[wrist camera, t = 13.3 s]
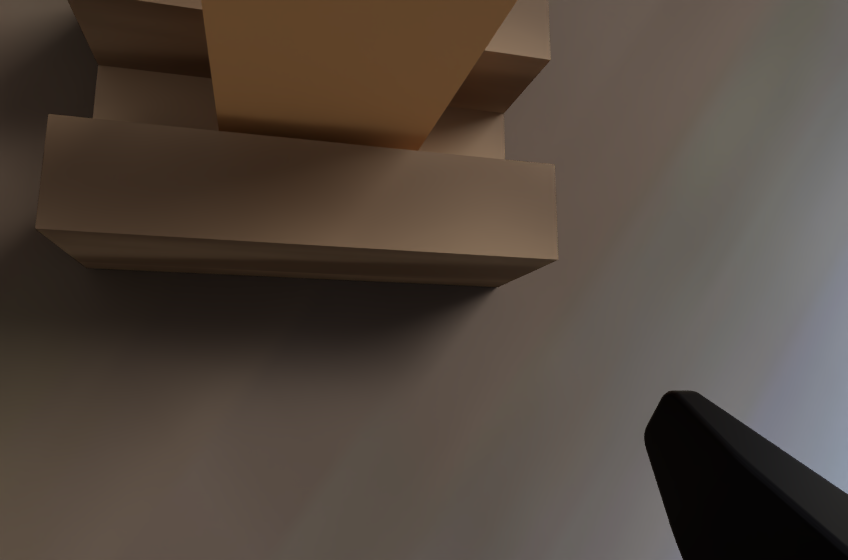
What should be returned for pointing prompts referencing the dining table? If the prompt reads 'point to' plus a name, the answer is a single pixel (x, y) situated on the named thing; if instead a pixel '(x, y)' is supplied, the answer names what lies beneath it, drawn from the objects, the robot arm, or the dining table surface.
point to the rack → (288, 171)
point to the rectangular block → (344, 65)
